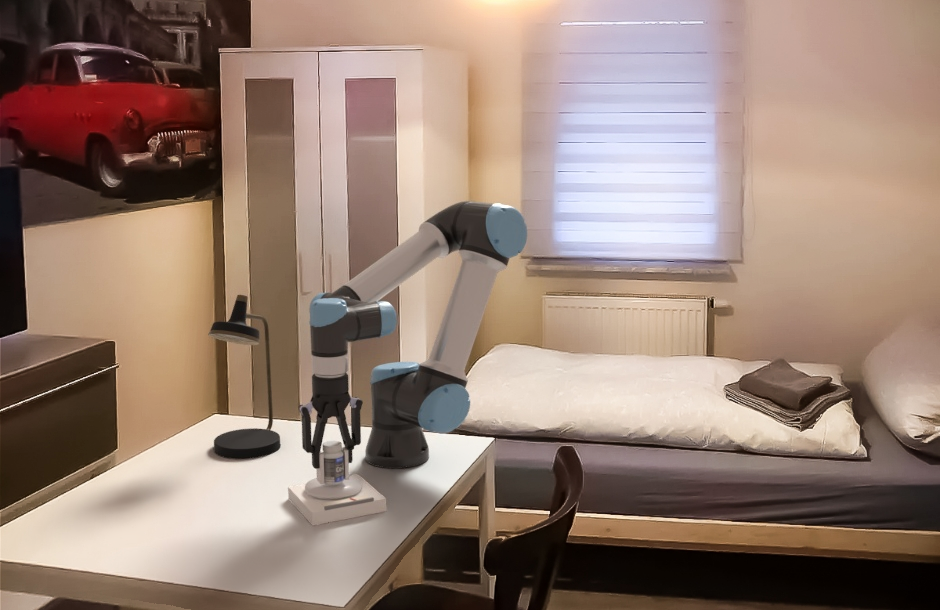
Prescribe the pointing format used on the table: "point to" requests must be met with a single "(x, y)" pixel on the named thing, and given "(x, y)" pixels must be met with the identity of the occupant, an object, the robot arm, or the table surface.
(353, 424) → the robot arm
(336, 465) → the pill bottle
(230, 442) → the lamp
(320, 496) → the scale
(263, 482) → the table surface
